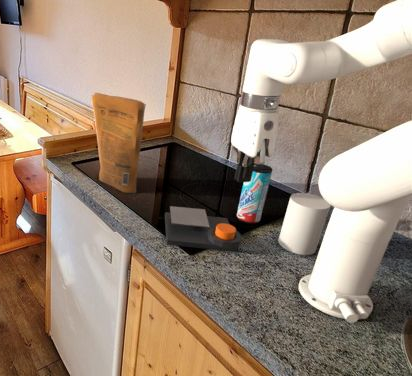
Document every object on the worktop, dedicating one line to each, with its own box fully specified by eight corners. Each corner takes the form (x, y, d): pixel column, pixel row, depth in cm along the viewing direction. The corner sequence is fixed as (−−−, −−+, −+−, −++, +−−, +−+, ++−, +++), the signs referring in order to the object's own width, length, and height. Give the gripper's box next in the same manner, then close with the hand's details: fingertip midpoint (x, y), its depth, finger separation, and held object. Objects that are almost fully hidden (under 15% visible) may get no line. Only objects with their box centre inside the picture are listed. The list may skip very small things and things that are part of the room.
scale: (241, 255, 93) (244, 244, 91) (166, 247, 95) (168, 236, 94) (230, 223, 106) (232, 212, 105) (164, 216, 108) (165, 206, 107)
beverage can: (233, 213, 111) (244, 162, 105) (255, 214, 111) (268, 163, 104) (239, 224, 106) (251, 171, 99) (262, 225, 105) (276, 172, 99)
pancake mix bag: (129, 199, 117) (137, 103, 106) (86, 177, 131) (89, 90, 119) (144, 193, 121) (154, 100, 110) (101, 172, 135) (106, 88, 123)
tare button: (236, 241, 93) (237, 233, 92) (216, 239, 94) (217, 231, 93) (232, 231, 97) (234, 224, 96) (213, 229, 98) (215, 222, 97)
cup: (307, 237, 100) (320, 194, 95) (321, 256, 93) (337, 210, 88) (273, 235, 101) (285, 191, 96) (285, 253, 94) (298, 207, 89)
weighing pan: (209, 228, 98) (209, 226, 97) (171, 224, 99) (171, 222, 99) (204, 210, 106) (205, 209, 105) (169, 207, 107) (169, 206, 107)
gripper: (298, 109, 79) (276, 193, 87) (255, 93, 93) (239, 167, 101) (264, 110, 78) (245, 195, 86) (225, 94, 91) (211, 169, 99)
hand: (242, 180), depth 93 cm, fingers closed
